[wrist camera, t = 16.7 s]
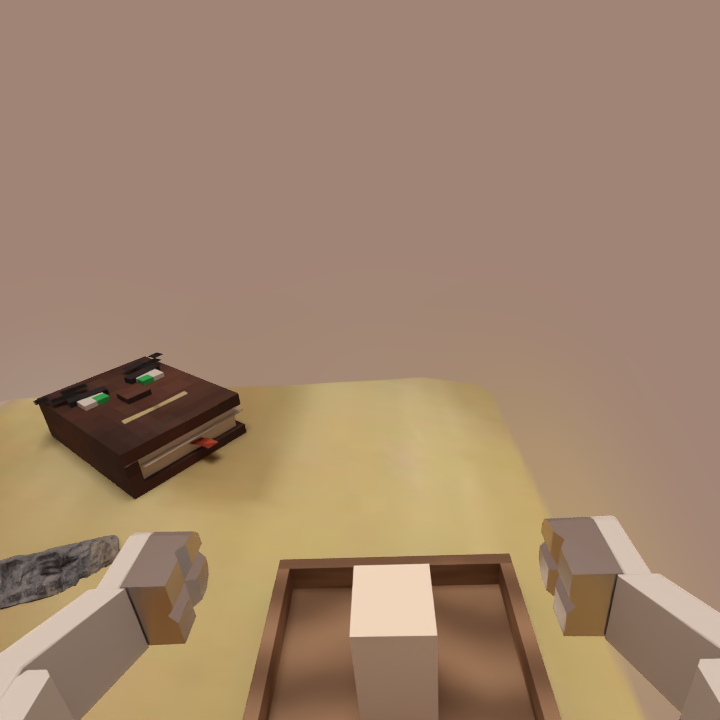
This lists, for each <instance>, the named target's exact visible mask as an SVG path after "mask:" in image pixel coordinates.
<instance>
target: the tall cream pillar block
mask: <svg viewBox="0 0 720 720" xmlns="http://www.w3.org/2000/svg"><path fill="white" fill-rule="evenodd" d="M349 637H350V645H351V653H352V660H353V668H354V676H355V683H356V691H357V699H358V706H359V714H360V720H438V642H437V628H436V619H435V610H434V602H433V593H432V584H431V576H430V567H429V564H400V565H359V566H354V570H353V587H352V603H351V619H350V636H349Z"/></svg>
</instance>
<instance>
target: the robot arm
mask: <svg viewBox="0 0 720 720" xmlns="http://www.w3.org/2000/svg"><path fill="white" fill-rule="evenodd" d="M541 532H542V535H543V537H544V540H545V542H544V543H543V544H542V545H541V546H540V549H539V563H540V571H541V575H542V579H543V582H544V585H545V588H546V590H547V591H548V592H549V593H551V594H552V595H553V596H554V604H553V609H554V612H555V614H556V617H557V619H558V622H559V625H560V627H561V630H562V632H563V635H564V636H605V639H606V640H607V641H608V642H609V643H610V644H611V645H612V646H613V647H614V648H615V649H616V650H617V651H618V652H619V653H620V654H621V655H622V656H623V657H624V658H626V659H627V660H628V661H629V662H630V663H631V664H632V665H633V666H634V667H635V668H636V669H637V670H638V671H639V672H640V673H641V674H642V675H643V676H644V677H645V678H646V679H647V680H648V681H649V682H650V683H651V684H652V685H653V686H654V687H655V688H656V689H657V690H658V691H659V692H660V693H661V694H662V695H663V696H664V697H665V698H667V700H668V701H670V703H672V705H674V706H675V707H676V708H677V709H678V710H679V711H680V712H681V713H682V714H681V716H680V719H679V720H720V613H719V612H717V611H716V610H714V609H713V608H711V607H710V606H708V605H707V604H705V603H703V602H702V601H700V600H699V599H697V598H696V597H694V596H693V595H691V594H690V593H688V592H687V591H685V590H684V589H682V588H680V587H679V586H677V585H676V584H674V583H672V582H671V581H670V580H668V579H667V578H665V577H664V576H662V575H660V574H652V573H651V571H650V570H649V568H648V567H647V565H646V564H645V562H644V561H643V559H642V558H641V556H640V554H639V553H638V551H637V550H636V548H635V547H634V545H633V543H632V542H631V541H630V539H629V537H628V536H627V534H626V533H625V531H624V529H623V528H622V526H621V525H620V523H619V522H618V520H617V519H616V518H615V517H613V516H594V517H593V516H592V517H573V518H551V519H544V521H543V523H542V529H541ZM201 544H202V543H201V540H200V537H199V534H198V533H197V532H140V533H134V534H132V535H131V536H129V538H128V539H127V541H126V542H125V544H124V545H123V547H122V549H121V550H120V552H119V553H118V555H117V556H116V558H115V560H114V561H113V563H112V564H111V566H110V567H109V569H108V571H107V572H106V574H105V575H104V577H103V578H102V580H101V582H100V583H99V585H98V586H97V588H96V589H90V590H88V591H87V592H85V593H84V594H82V595H81V596H80V597H78V598H77V599H75V600H74V601H73V602H71V603H70V604H68V605H67V606H66V607H64V608H63V609H61V610H60V611H59V612H57V613H56V614H54V615H53V616H52V617H50V618H49V619H47V620H46V621H45V622H43V623H42V624H40V625H39V626H38V627H36V628H35V629H33V630H32V631H31V632H29V633H28V634H26V635H25V636H24V637H22V638H21V639H19V640H18V641H17V642H15V643H14V644H12V645H11V646H10V647H8V648H7V649H5V650H4V651H3V652H1V653H0V720H81V718H82V717H83V716H84V715H85V714H86V713H87V712H88V711H89V710H90V709H91V708H92V707H93V706H94V705H95V704H96V703H97V702H98V700H99V699H100V698H101V697H102V696H103V695H104V694H105V693H106V692H107V691H108V690H109V689H110V688H111V687H112V686H113V685H114V684H115V683H116V681H117V680H118V679H119V678H120V677H121V676H122V675H123V674H124V673H125V672H126V671H127V670H128V669H129V668H130V667H131V666H132V665H133V664H134V662H135V661H136V660H137V659H138V658H139V657H140V656H141V655H142V654H143V653H144V652H145V651H146V650H147V649H148V645H164V644H184V643H186V640H187V638H188V635H189V633H190V630H191V628H192V625H193V622H194V620H195V617H196V615H195V612H194V609H193V607H194V606H195V605H196V604H197V603H199V602H200V601H201V600H202V599H203V596H204V593H205V591H206V588H207V581H208V564H207V560H206V557H205V556H204V555H202V554H201V553H200V552H199V548H200V546H201Z"/></svg>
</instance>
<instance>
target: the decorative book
mask: <svg viewBox="0 0 720 720" xmlns="http://www.w3.org/2000/svg"><path fill="white" fill-rule="evenodd" d="M160 355H162V354H160V353H155V354H152V355H150V356H149V357H152V358H154V359H150V358H148V357H142V358H140V359H137V360H135V361H132V362H130V363H127V364H124V365H122V366H120V367H117V368H114V369H112V370H109V371H107V372H104V373H101V374H99V375H96V376H94V377H91V378H89V379H86V380H84V381H81V382H79V383H76V384H74V385H71V386H68V387H66V388H63V389H61V390H58V391H56V392H53V393H51V394H48V395H46V396H43V397H40V398H38V399H37V400H35V401H33V402H34V403H35V405H38V404H39V406H40V408H41V411H42V413H43V415H44V418H45V420H46V423H47V425H48V427H49V430H50V432H51V434H52V436H53V437H55V438H56V439H57V440H59V441H60V442H61V443H62V444H64V445H65V446H66V447H68V448H69V449H70V450H72V451H73V452H74V453H76V454H77V455H78V456H79V457H81V458H82V459H83V460H85V461H86V462H87V463H89V464H90V465H91V466H92V467H94V468H95V469H96V470H98V471H99V472H100V473H102V474H103V475H104V476H105V477H107V478H108V479H109V480H111V481H112V482H113V483H115V484H116V485H117V486H119V487H120V488H121V489H122V490H124V491H125V492H126V493H128V494H129V495H130V496H132V497H133V498H134V499H137V498H138V497H140V496H142V495H143V494H145V493H147V492H148V491H150V490H151V489H153V488H155V487H156V486H158V485H160V484H161V483H163V482H165V481H166V480H168V479H170V478H171V477H173V476H175V475H176V474H178V473H180V472H181V471H183V470H185V469H186V468H188V467H189V466H191V465H193V464H194V463H196V462H198V461H199V460H201V459H203V458H204V457H206V456H208V455H209V454H211V453H213V452H214V451H216V450H218V449H219V448H221V447H223V446H224V445H226V444H227V443H229V442H231V441H232V440H234V439H236V438H237V437H239V436H241V435H242V434H244V433H246V428H245V424H243V423H240V422H238V421H236V420H235V418H234V415H236V414H238V413H239V412H241V411H243V410H242V409H240V408H237V407H236V406H238V405H239V404H240V400H239V395H238V393H236V392H233V391H231V390H228V389H226V388H223V387H221V386H218V385H216V384H213V383H210V382H208V381H205V380H203V379H200V378H198V377H195V376H193V375H190V374H188V373H185V372H183V371H180V370H178V369H175V368H173V367H170V366H168V365H165V364H162V363H160V362H158V361H160V359H156V357H158V356H160Z"/></svg>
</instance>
